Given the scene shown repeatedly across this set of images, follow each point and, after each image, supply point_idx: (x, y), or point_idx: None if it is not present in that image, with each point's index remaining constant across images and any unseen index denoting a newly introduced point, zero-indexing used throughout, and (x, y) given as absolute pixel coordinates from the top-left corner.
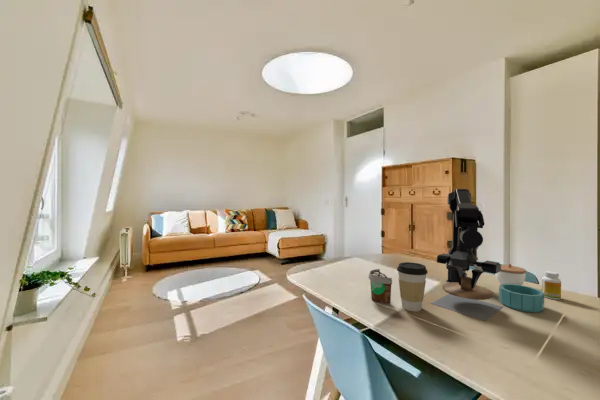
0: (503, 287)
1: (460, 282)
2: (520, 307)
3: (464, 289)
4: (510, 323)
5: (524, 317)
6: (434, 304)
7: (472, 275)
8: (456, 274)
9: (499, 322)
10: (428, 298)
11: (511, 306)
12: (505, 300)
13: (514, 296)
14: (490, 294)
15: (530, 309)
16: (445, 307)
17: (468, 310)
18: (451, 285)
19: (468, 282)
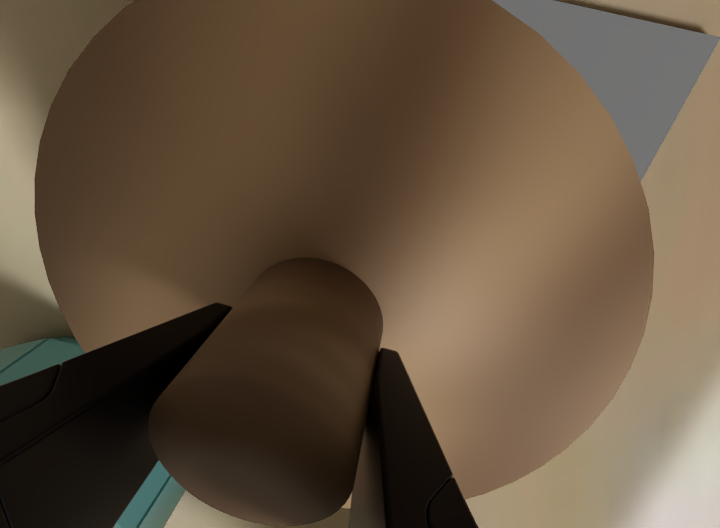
0: None
1: (375, 375)
2: (45, 347)
3: (323, 267)
4: (19, 59)
5: (24, 252)
6: (669, 31)
7: (3, 457)
8: (446, 515)
9: (71, 14)
10: (715, 232)
11: None
12: None
13: None
14: (63, 277)
15: (7, 349)
16: (533, 21)
17: None
18: (509, 374)
19: (220, 338)
